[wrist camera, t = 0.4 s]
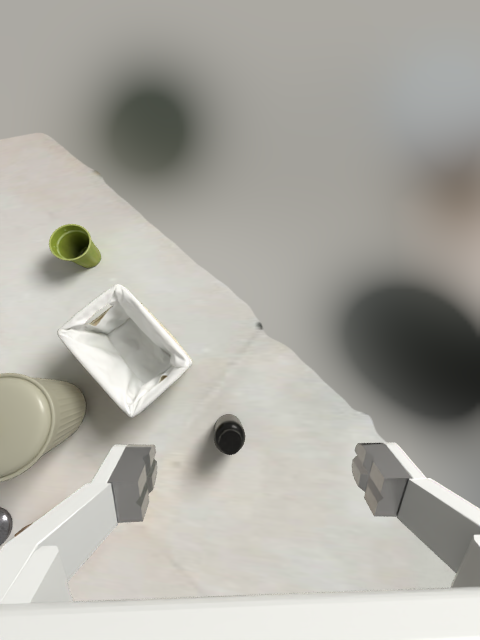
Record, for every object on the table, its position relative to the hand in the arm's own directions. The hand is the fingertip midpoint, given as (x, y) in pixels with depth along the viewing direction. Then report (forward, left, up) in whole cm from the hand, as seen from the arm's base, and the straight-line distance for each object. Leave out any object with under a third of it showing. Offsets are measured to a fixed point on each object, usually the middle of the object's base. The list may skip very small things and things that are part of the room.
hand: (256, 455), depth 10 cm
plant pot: (+45, +21, -54) cm, 73 cm away
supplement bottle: (-11, +4, -54) cm, 55 cm away
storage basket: (+15, +16, -54) cm, 58 cm away
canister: (+10, +39, -54) cm, 67 cm away
